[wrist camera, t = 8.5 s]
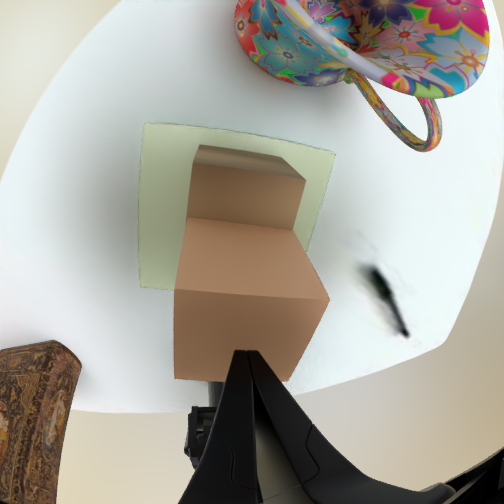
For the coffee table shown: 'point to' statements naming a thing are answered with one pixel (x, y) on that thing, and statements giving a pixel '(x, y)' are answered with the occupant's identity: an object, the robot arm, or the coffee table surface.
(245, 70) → the coffee table surface
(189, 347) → the cube
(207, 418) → the robot arm
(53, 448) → the book
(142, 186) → the baseplate
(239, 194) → the walnut brick
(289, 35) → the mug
